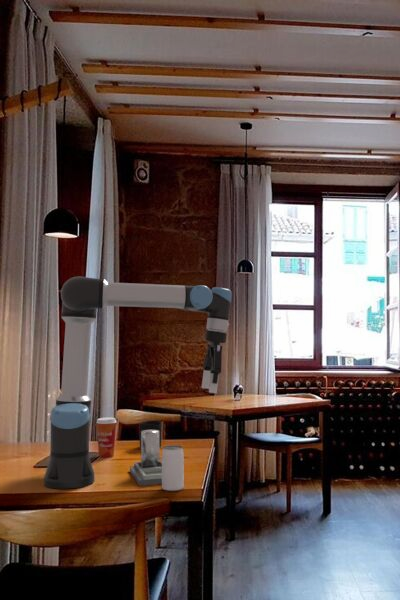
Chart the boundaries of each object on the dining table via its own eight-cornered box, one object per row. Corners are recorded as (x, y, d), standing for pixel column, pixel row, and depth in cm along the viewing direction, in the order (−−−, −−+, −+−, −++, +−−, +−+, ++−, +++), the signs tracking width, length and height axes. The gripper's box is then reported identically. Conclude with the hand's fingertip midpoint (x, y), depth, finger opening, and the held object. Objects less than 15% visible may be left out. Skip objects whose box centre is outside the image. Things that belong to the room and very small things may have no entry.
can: (180, 492, 153) (180, 449, 154) (159, 490, 154) (159, 448, 155) (186, 485, 159) (185, 445, 160) (165, 484, 160) (165, 444, 161)
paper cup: (92, 457, 198) (92, 419, 199) (102, 453, 205) (102, 416, 206) (110, 459, 196) (110, 420, 197) (120, 454, 203) (120, 417, 204)
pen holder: (139, 445, 221) (139, 421, 221) (161, 444, 222) (161, 420, 222) (138, 450, 211) (138, 424, 212) (162, 449, 212) (162, 424, 213)
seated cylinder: (142, 471, 171) (142, 433, 172) (139, 466, 177) (139, 430, 177) (161, 469, 173) (161, 432, 173) (157, 465, 178) (157, 429, 179)
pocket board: (139, 485, 160) (139, 476, 160) (129, 471, 177) (129, 462, 177) (178, 482, 163) (177, 473, 163) (165, 468, 181) (165, 460, 181)
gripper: (235, 332, 178) (227, 396, 176) (219, 332, 203) (212, 387, 201) (213, 329, 177) (205, 393, 175) (200, 329, 201) (192, 385, 200)
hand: (208, 390), depth 188 cm, fingers open, 13 cm apart
